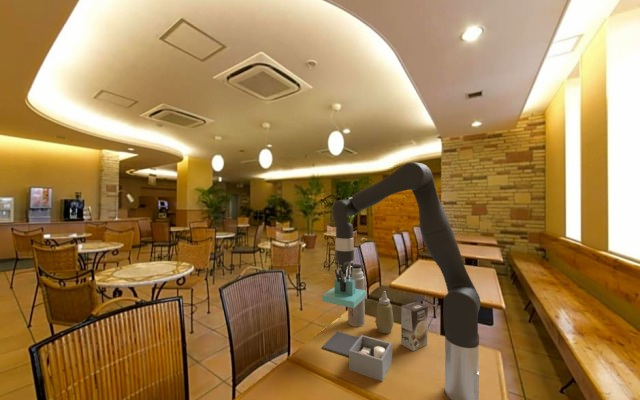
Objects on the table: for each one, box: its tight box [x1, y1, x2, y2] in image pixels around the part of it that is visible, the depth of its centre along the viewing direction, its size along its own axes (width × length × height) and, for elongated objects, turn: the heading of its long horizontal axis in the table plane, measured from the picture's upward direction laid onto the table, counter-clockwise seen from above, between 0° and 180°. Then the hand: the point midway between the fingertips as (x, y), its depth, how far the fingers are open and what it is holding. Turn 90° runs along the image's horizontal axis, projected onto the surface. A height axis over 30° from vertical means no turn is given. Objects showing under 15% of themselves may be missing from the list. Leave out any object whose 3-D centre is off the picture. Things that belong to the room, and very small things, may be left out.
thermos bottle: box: [347, 263, 366, 327], centre depth 130 cm, size 8×8×28 cm
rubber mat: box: [321, 331, 360, 358], centre depth 111 cm, size 14×14×1 cm
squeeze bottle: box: [374, 290, 395, 335], centre depth 122 cm, size 8×8×18 cm
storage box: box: [348, 334, 393, 382], centre depth 97 cm, size 12×12×7 cm
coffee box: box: [400, 301, 429, 352], centre depth 111 cm, size 9×6×16 cm
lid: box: [321, 277, 367, 308], centre depth 111 cm, size 14×14×8 cm
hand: (344, 289), depth 111 cm, fingers closed on lid, 3 cm apart
